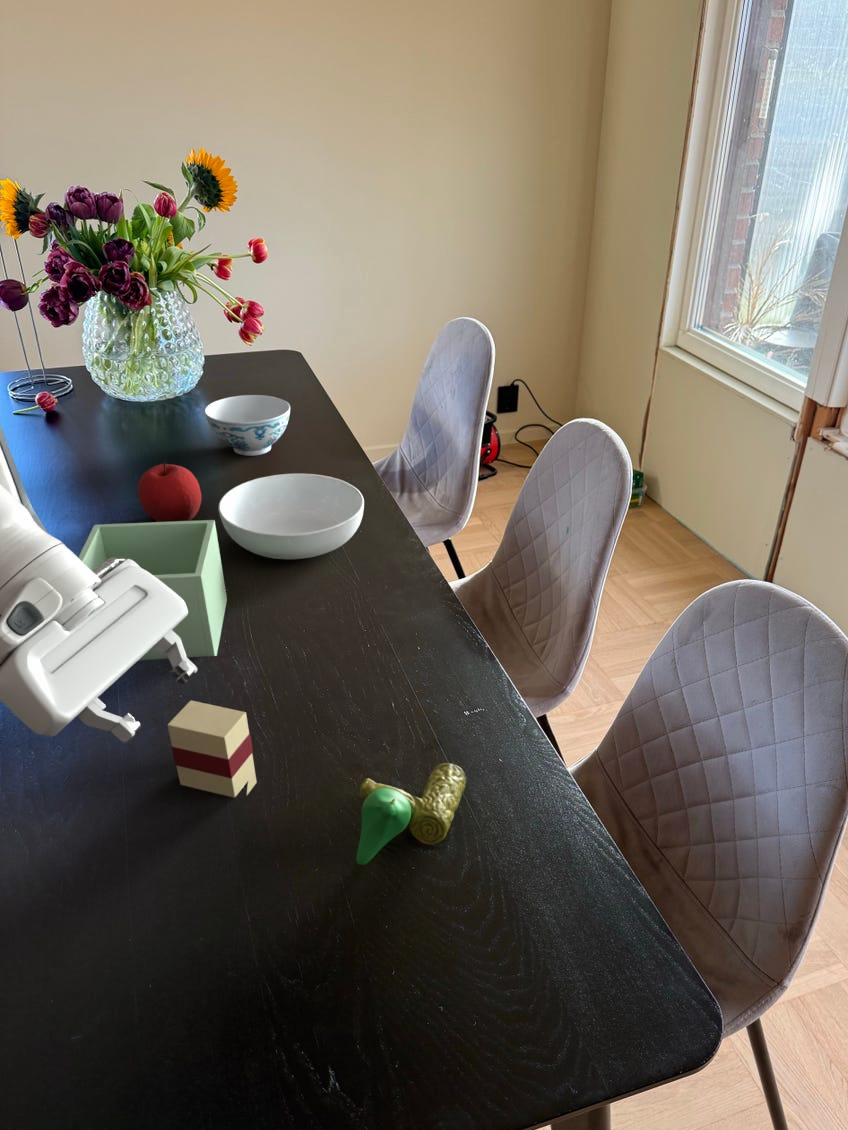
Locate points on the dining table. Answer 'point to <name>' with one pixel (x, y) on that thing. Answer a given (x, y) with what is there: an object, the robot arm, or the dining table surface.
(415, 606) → the dining table surface
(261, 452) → the chinaware
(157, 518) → the apple
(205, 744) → the chocolate box
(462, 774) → the bird figurine
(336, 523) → the serving bowl
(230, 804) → the dining table surface
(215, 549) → the trash bin
